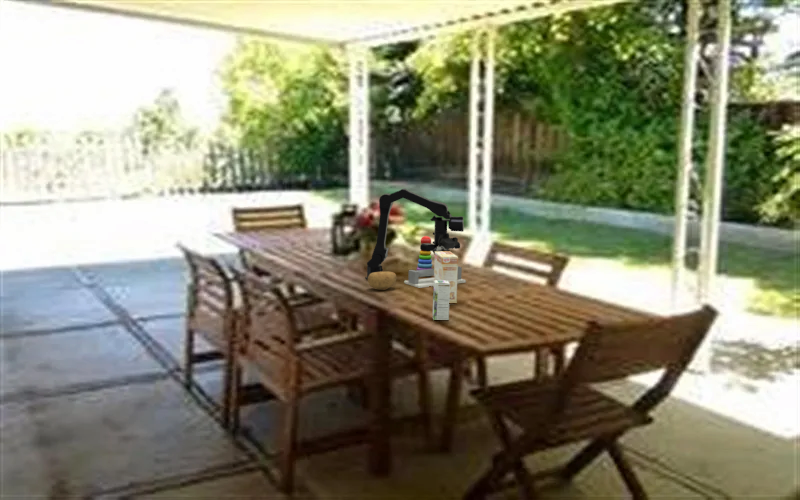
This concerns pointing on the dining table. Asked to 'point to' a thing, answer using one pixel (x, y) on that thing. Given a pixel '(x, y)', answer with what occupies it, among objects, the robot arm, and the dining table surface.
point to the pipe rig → (427, 282)
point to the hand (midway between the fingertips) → (440, 264)
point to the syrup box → (441, 300)
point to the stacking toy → (425, 256)
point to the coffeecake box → (447, 271)
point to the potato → (382, 280)
